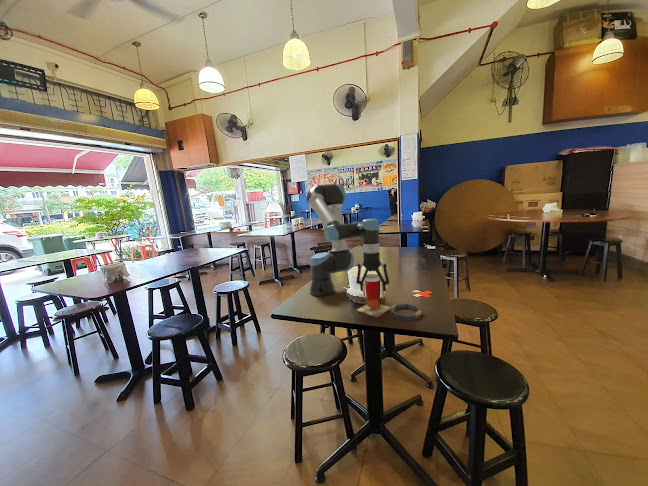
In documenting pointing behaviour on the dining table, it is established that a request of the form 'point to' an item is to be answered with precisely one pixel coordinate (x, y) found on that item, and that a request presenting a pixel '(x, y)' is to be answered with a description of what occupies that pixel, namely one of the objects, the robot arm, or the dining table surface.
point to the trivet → (374, 310)
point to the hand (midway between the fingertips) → (373, 297)
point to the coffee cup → (372, 290)
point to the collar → (405, 317)
